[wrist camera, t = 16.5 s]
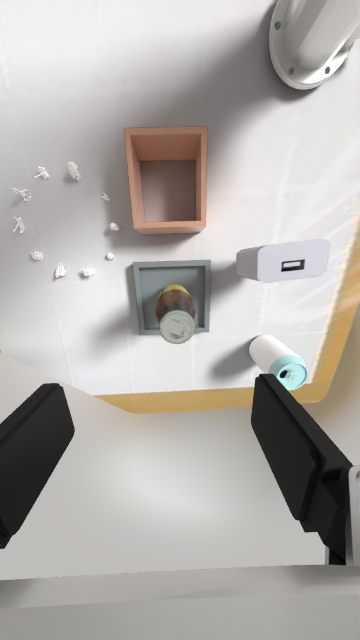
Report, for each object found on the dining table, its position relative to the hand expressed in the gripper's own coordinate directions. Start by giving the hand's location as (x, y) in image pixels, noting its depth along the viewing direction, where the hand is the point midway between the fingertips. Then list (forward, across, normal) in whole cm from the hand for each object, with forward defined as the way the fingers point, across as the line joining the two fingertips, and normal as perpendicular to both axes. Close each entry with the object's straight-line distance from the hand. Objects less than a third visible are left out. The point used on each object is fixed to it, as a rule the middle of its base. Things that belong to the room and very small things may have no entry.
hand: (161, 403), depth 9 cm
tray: (+32, 0, +1) cm, 32 cm away
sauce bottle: (+32, 0, +1) cm, 32 cm away
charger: (+33, -16, -6) cm, 37 cm away
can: (+32, -21, +14) cm, 41 cm away
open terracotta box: (+32, 0, -18) cm, 37 cm away
